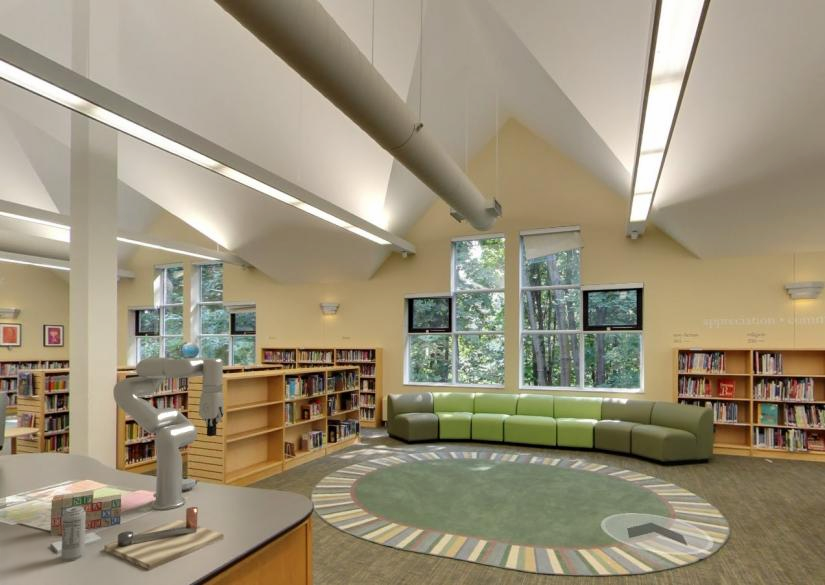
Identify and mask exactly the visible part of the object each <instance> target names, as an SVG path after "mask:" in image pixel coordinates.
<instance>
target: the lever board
mask: <svg viewBox="0 0 825 585" xmlns="http://www.w3.org/2000/svg"><path fill="white" fill-rule="evenodd" d="M184 526H186V520H185V521H184V520H181V519H175V520H173V521H170V522H167V523H165V524H161V525H159V526H155V527H153V528H150V529H147V530H144V531H142V532H139V533H136V534H133V536H135V535H140V534H146V533H151V532H157V531H162V530H168V529H173V528H179V527H184ZM224 538H225V536H224V534H223V533H221V532H218V531H215V530H212V529H209V528H205V527H203V526H200V525H197V532H191V533H186V534H181V535H176V536H170V537H165V538H160V539H155V540H149V541H144V542H139V543H134V544H130V545H127V546H118V545H117V544H118V540H116V541H113V542H109V543H108V544H104V548H103V549H104V551H105V552H107V553H109V554H113V555H114V554H115V556H117V557H119V556H120V557H119V558H121V557H123V558H125V559H124V560H126V559H127V560H126V561H128V560H130V561H132V562H135V563H137V564H139V565H141V566H140V567H142V566H143V567H142V568H144V567H145V568H144V569H146V568H147V569H146V570H148V569H149V571H150V569H151V570H152V569H153V570H154V569H155V568H158V567H160V566H162V565H163V566H164V565H165V564H168V563H170V562H171V561H175V560H177V559H179V558H181V557H184V556H186V555H189V554H192V553H193V552H196V551H198V550H201V549H203V548H205V547H209V545H210V546H211V545H212V544H215V543H217V542H219V541H222V540H224ZM123 558H122V559H123ZM130 561H129V562H130ZM132 562H131V563H132ZM135 563H134V564H135ZM137 564H136V565H137ZM139 565H138V566H139Z"/></svg>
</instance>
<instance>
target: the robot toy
mask: <svg viewBox="0 0 825 585" xmlns="http://www.w3.org/2000/svg"><path fill="white" fill-rule="evenodd" d="M200 481H201V480H200V479H198V480H196V479H195V478H187V477H182V491H185V490H186V491H190V490H192V489H193V488H195V487H196V486H197V483H199V482H200Z"/></svg>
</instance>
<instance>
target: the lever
mask: <svg viewBox="0 0 825 585" xmlns="http://www.w3.org/2000/svg"><path fill="white" fill-rule="evenodd" d="M185 522H186V526H184V527H179V528H173V529H168V530H162V531H157V532H151V533H146V534H140V535H135V534H134V532H133V531H128V530H127V531H123V532H120V533H118V535H117V541H118V544H117V545H118V546H127V545H130V544H134V543H139V542H144V541H149V540H155V539H160V538H165V537H170V536H176V535H181V534H186V533H191V532H197V526H198V507H197V506H190V507H188V508H186V510H185ZM133 535H135V536H133Z"/></svg>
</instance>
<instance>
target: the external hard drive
mask: <svg viewBox="0 0 825 585" xmlns="http://www.w3.org/2000/svg"><path fill="white" fill-rule="evenodd" d="M101 539H102V538H101V537H100V536H99V535H97V533H95V531H92V532H89V533H85V546H84V547H87V546H88V545H89V546H90V545H93V544H96V543H100V542H101V541H102V540H101ZM50 547H51V549H52V550H54V552H55V553H56V554H60V553H61V554H62V540H58V541H55V542H51V543H50Z"/></svg>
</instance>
